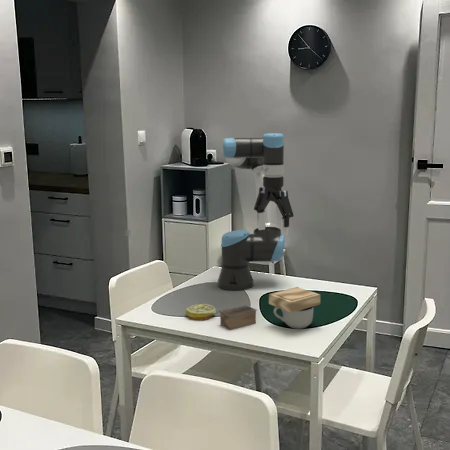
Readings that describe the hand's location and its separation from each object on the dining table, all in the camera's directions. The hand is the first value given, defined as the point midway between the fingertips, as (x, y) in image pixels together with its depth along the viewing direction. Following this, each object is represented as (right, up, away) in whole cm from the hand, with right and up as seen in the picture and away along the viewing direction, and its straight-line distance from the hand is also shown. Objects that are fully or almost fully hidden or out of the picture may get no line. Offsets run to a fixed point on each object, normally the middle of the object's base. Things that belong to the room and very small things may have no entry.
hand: (272, 232), depth 228 cm
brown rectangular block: (-13, -32, -13) cm, 37 cm away
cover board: (+6, -25, -17) cm, 30 cm away
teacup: (+6, -33, -15) cm, 36 cm away
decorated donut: (-27, -31, -4) cm, 41 cm away
